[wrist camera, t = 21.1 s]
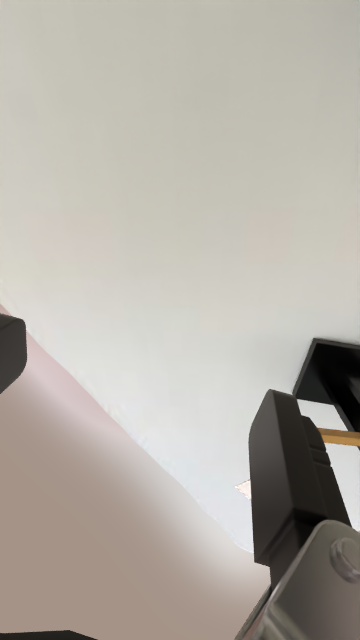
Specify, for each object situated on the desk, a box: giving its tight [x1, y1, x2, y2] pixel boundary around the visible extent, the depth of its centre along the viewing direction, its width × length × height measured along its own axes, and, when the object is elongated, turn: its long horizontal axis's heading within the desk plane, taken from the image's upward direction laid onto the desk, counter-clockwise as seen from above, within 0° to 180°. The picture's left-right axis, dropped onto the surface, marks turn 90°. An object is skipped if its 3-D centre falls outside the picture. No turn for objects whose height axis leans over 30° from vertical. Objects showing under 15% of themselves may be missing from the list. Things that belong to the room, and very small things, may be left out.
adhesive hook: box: [236, 480, 251, 500], centre depth 55 cm, size 3×3×3 cm
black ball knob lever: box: [317, 428, 360, 446], centre depth 32 cm, size 14×4×4 cm, turn 82°
